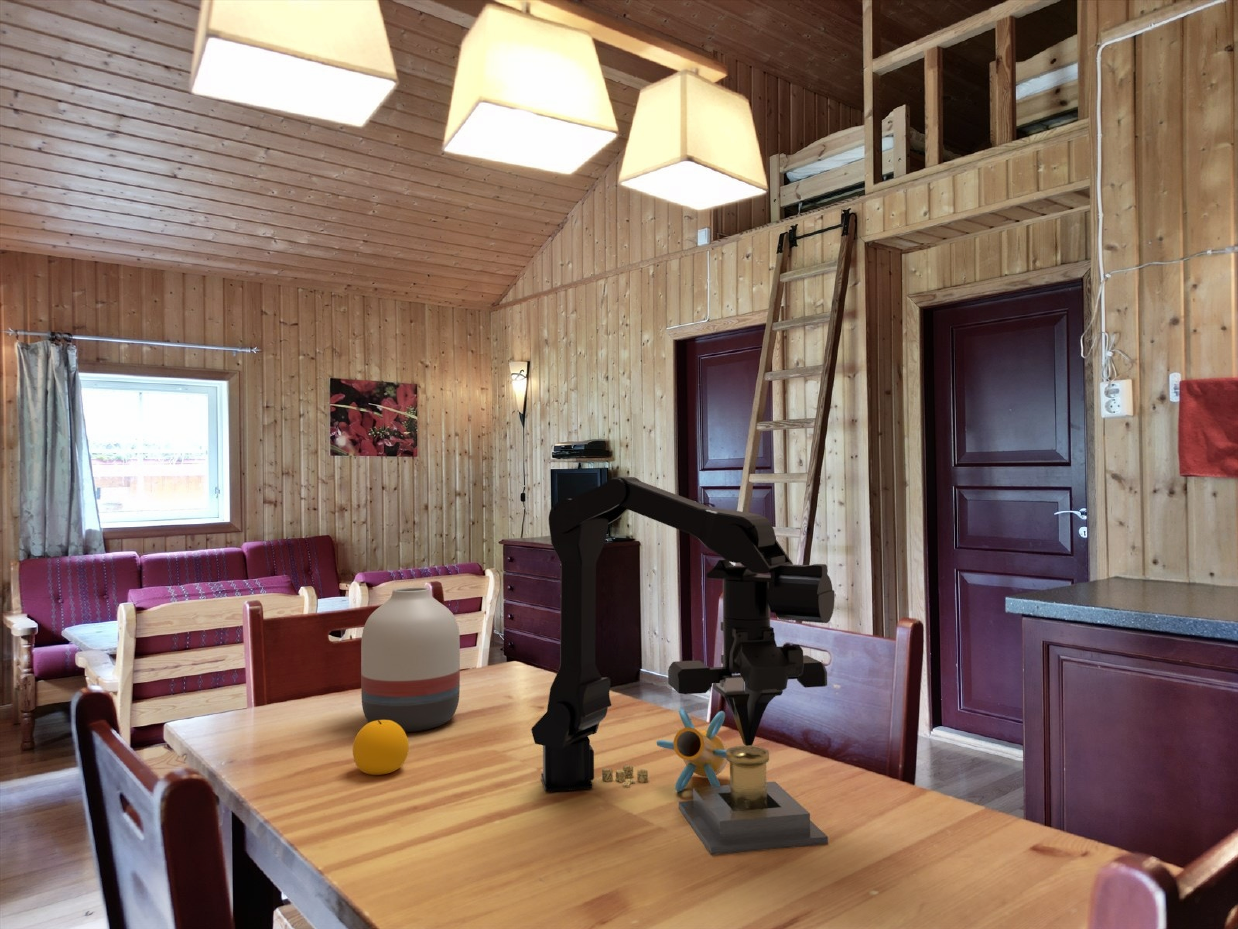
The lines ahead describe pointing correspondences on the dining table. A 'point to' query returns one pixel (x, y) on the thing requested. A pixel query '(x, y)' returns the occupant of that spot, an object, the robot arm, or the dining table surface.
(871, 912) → the dining table surface
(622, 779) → the mottled tan cylinder cluster
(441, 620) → the vase
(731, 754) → the bushing
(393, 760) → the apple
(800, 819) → the plate
